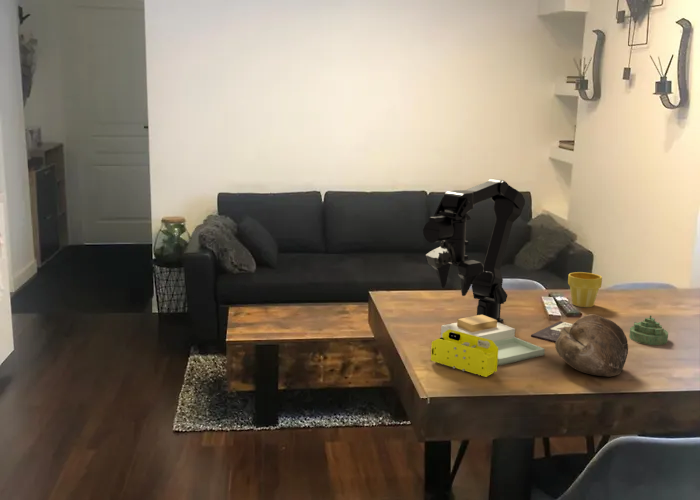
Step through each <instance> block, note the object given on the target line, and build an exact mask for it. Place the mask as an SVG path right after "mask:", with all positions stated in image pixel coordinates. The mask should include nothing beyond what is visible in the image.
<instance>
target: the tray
mask: <svg viewBox="0 0 700 500" xmlns="http://www.w3.org/2000/svg"><path fill="white" fill-rule="evenodd" d="M493 342H494V343H495V345H496V346H497V347H498V361H497V366H504V365H508V364H511V363H512V364H513V363H516V362H520V361H524V360H529V359H533V358H537V357H541V356H545V348H544V347H541V346H539V345H536V344H533V343H532V342H530V341H527V340H526V341H525V340H523V339H522V338H518V337H516V336H515V337H512V338H507V339H502V340H497V341H493ZM489 347H490V343H489Z"/></svg>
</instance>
